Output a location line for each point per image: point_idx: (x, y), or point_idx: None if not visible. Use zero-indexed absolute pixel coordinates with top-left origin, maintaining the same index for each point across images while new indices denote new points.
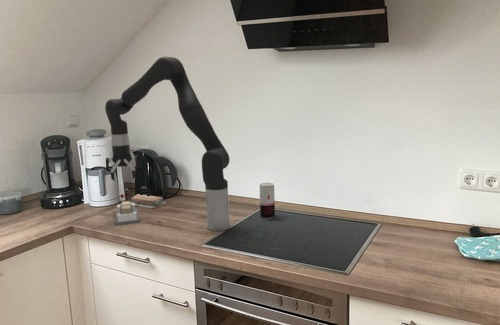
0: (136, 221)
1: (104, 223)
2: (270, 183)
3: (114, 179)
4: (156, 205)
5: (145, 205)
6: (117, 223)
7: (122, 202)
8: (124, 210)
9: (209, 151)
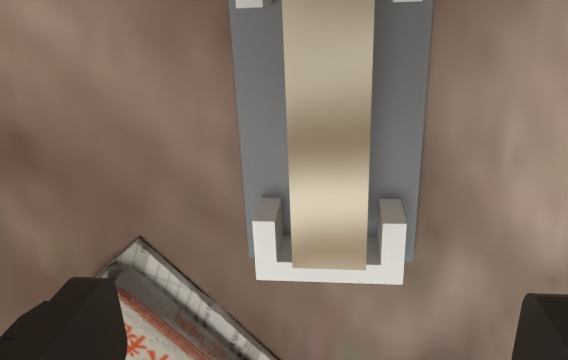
0: None
1: (530, 3)
2: None
3: (540, 299)
4: (108, 266)
5: (192, 312)
6: None
7: (358, 237)
8: None
9: None
